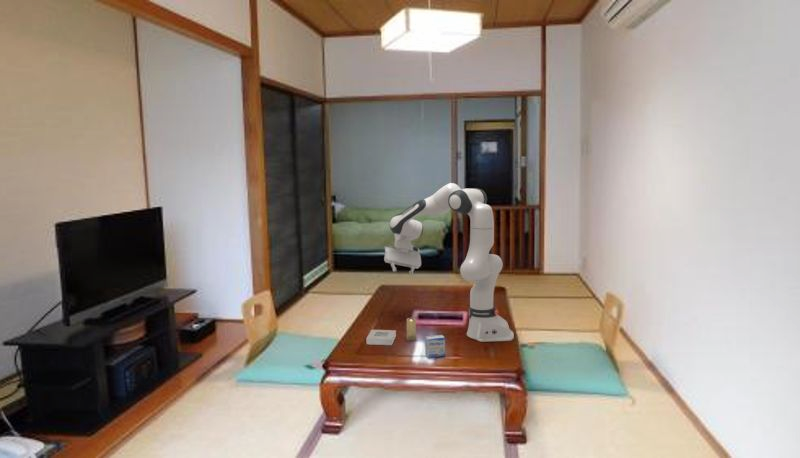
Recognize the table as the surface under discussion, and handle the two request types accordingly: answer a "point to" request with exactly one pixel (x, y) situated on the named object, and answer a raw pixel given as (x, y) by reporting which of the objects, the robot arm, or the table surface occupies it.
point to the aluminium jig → (381, 337)
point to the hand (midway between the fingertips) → (402, 272)
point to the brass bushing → (411, 329)
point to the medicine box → (434, 346)
